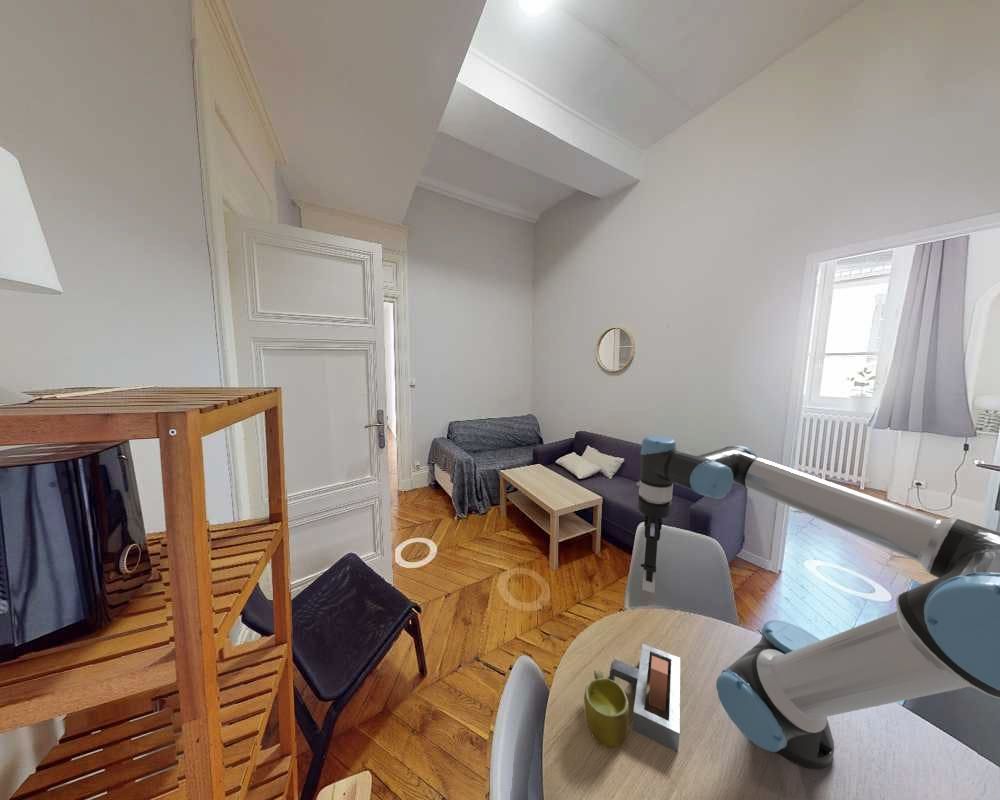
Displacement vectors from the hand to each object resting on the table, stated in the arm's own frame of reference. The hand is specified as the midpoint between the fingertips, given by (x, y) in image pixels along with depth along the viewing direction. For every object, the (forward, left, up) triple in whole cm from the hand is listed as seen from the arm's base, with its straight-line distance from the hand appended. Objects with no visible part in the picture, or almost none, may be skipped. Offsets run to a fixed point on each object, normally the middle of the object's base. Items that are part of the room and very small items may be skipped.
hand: (649, 573), depth 86 cm
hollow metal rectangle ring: (-1, +10, -26) cm, 28 cm away
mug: (+7, +20, -26) cm, 34 cm away
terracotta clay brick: (-4, +10, -26) cm, 28 cm away
